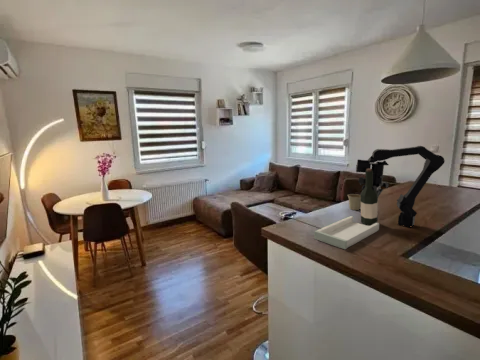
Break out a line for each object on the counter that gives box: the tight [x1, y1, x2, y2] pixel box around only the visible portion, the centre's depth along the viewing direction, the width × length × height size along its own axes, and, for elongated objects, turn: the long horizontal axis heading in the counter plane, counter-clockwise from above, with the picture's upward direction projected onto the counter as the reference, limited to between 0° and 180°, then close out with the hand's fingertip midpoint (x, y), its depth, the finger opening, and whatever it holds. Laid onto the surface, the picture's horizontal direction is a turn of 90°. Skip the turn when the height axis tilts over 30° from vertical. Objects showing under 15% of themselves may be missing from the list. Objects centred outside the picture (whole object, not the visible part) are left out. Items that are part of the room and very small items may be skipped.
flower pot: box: [347, 193, 361, 211], centre depth 169 cm, size 9×9×9 cm
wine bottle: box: [360, 168, 379, 226], centre depth 138 cm, size 8×8×30 cm
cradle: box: [313, 215, 380, 250], centre depth 129 cm, size 15×34×4 cm, turn 131°
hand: (373, 201), depth 144 cm, fingers closed
